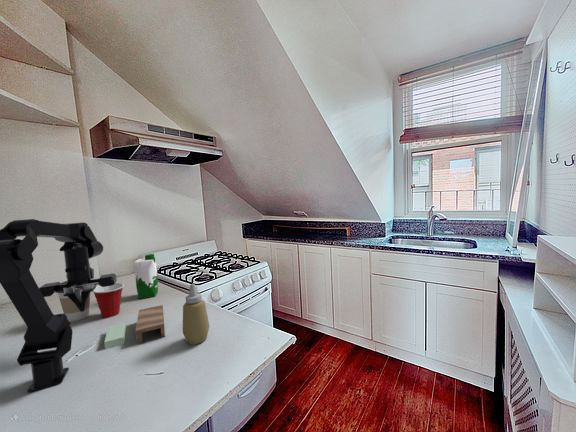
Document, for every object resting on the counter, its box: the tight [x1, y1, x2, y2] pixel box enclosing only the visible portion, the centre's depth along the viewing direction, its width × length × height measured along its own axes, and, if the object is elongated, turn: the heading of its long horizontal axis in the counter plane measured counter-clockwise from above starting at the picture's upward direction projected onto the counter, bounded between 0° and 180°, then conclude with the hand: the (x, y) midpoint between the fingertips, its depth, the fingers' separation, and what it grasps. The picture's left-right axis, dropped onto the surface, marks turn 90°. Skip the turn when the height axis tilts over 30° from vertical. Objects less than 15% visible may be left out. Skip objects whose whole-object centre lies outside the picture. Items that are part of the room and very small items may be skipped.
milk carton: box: [133, 253, 159, 300], centre depth 124 cm, size 9×9×20 cm
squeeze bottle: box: [182, 283, 210, 345], centre depth 80 cm, size 8×8×18 cm
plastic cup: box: [92, 282, 125, 319], centre depth 104 cm, size 11×11×12 cm
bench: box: [135, 304, 166, 345], centre depth 90 cm, size 18×8×5 cm, turn 27°
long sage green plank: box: [104, 322, 127, 350], centre depth 85 cm, size 12×5×3 cm, turn 30°
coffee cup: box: [55, 280, 91, 323], centre depth 103 cm, size 11×11×15 cm
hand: (82, 311), depth 81 cm, fingers closed
